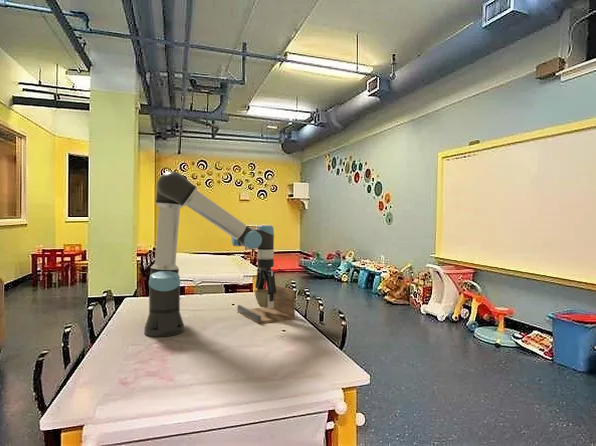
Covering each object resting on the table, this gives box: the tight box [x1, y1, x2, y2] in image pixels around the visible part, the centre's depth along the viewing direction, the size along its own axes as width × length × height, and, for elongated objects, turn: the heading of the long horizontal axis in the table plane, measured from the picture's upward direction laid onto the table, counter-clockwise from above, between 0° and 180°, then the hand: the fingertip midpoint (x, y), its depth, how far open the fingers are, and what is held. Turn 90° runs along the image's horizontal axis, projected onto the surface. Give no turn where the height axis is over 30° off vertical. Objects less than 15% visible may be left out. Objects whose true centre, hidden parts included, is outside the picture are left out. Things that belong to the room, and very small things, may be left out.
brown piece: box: [237, 283, 296, 325], centre depth 193 cm, size 18×24×13 cm
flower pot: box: [254, 288, 276, 308], centre depth 194 cm, size 10×10×7 cm
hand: (265, 305), depth 194 cm, fingers closed on flower pot, 10 cm apart
